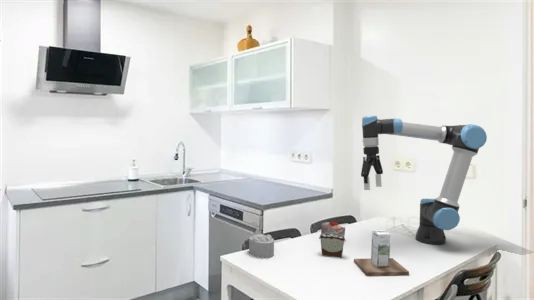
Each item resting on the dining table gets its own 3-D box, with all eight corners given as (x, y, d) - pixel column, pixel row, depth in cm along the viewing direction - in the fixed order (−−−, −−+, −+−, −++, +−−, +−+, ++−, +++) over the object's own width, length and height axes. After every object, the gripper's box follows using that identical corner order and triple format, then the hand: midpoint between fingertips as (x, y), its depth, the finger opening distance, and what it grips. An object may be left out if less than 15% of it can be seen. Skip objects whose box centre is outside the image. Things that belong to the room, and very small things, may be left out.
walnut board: (392, 261, 165) (392, 258, 165) (408, 275, 149) (409, 271, 149) (353, 262, 163) (353, 258, 163) (366, 276, 147) (366, 272, 147)
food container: (346, 254, 173) (347, 233, 173) (345, 258, 168) (345, 237, 167) (321, 251, 177) (321, 231, 177) (318, 255, 172) (319, 234, 171)
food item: (347, 241, 194) (347, 223, 193) (336, 244, 189) (337, 225, 188) (328, 235, 205) (329, 218, 204) (318, 238, 200) (319, 220, 200)
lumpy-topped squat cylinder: (264, 248, 181) (264, 231, 181) (279, 255, 170) (279, 237, 170) (246, 251, 175) (246, 234, 175) (260, 260, 164) (260, 241, 164)
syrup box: (382, 262, 159) (383, 229, 159) (389, 267, 154) (390, 233, 153) (370, 262, 158) (371, 230, 158) (377, 267, 153) (378, 233, 152)
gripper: (374, 145, 195) (376, 185, 195) (352, 147, 176) (354, 191, 176) (388, 145, 190) (390, 185, 190) (366, 147, 171) (369, 191, 171)
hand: (373, 188), depth 183 cm, fingers open, 13 cm apart
